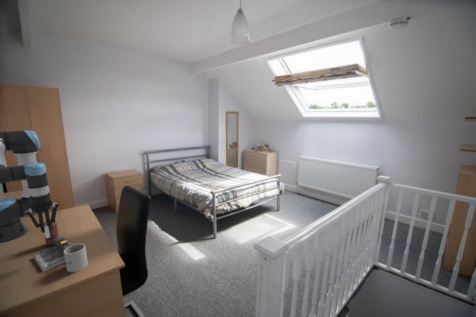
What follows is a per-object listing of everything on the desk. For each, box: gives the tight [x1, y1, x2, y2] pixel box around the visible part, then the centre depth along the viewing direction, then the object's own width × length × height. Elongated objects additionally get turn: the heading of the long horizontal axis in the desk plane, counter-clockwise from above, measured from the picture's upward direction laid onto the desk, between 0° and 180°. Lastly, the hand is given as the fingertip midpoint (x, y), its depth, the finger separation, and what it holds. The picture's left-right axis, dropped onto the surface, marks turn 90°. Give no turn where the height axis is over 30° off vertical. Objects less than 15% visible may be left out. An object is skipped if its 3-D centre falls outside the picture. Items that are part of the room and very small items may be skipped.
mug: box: [64, 243, 89, 273], centre depth 110 cm, size 12×9×10 cm
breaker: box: [56, 236, 66, 249], centre depth 122 cm, size 3×3×5 cm
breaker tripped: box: [60, 239, 69, 253], centre depth 119 cm, size 3×3×5 cm
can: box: [43, 220, 60, 248], centre depth 127 cm, size 6×6×14 cm
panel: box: [32, 241, 73, 273], centre depth 117 cm, size 17×16×2 cm
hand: (47, 236), depth 113 cm, fingers closed
